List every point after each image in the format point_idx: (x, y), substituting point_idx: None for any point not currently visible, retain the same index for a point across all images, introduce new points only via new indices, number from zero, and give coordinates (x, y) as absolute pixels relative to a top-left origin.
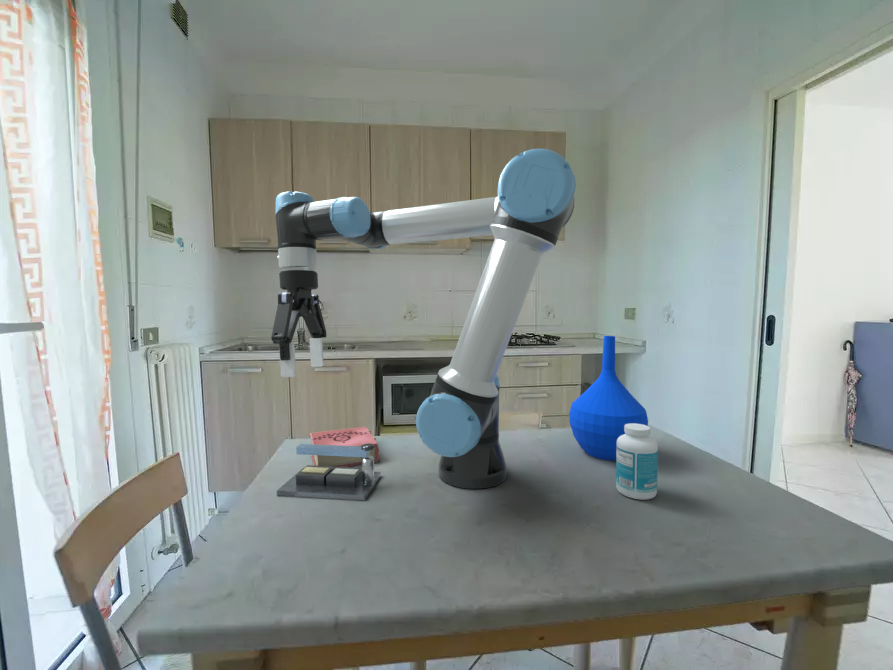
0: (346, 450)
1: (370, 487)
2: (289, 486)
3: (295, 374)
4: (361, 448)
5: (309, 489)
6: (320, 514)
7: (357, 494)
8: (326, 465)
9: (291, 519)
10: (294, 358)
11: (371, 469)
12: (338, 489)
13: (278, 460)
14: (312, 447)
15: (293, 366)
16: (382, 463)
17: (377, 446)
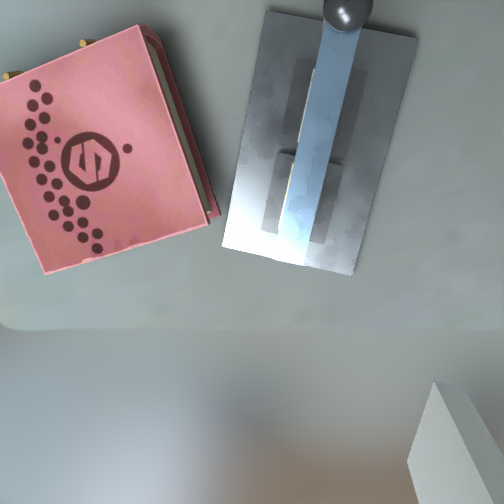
0: (344, 91)
1: (365, 29)
2: (333, 251)
3: (446, 391)
4: (353, 31)
5: (357, 198)
6: (466, 145)
7: (408, 60)
8: (201, 188)
9: (475, 207)
10: (498, 493)
11: None
12: (369, 120)
13: (145, 324)
14: (310, 214)
15: (492, 443)
16: (173, 22)
17: (142, 26)
